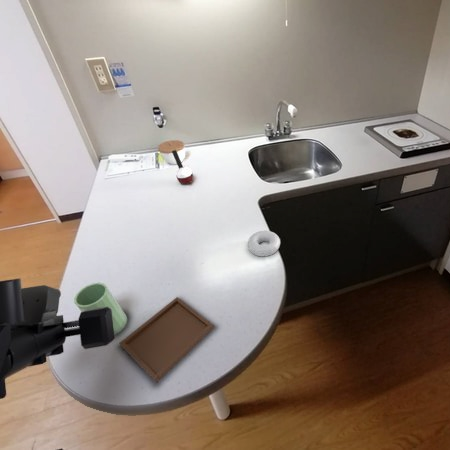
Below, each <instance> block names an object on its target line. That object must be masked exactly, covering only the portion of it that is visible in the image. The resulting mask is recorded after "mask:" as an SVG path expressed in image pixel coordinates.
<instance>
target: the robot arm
mask: <svg viewBox="0 0 450 450" xmlns="http://www.w3.org/2000/svg"><path fill="white" fill-rule="evenodd" d="M61 296H62V292H61V290H60V289H58V288H56V287H52V286H49V285H45V284H43V285H42V284H41V285H36V286H35V285H34V286H29V287H22V279H21V278H20V277H19V278H13V279H7V280H6V279H5V280H0V400H2V399H5V398H6V396H7V386H6V379H8V378H9V377H11V376H13V375H15V374H17V373H19V372H21V371H23V370H25V369H27V368H28V367H36V366H40V365H44V364H46V363H47V357H51V356H58V355H61V354H63V353H64V352H65V350H64V344H65V343H66V339H67V338H68V337H74V336H79V337H80V345H81V347H82V348H83V349H84V350H89V349H94V348H95V349H96V348H99V347H105V346H108V345H109V344H111V343H113V341H114V340H115V335H114V328H113V319H112V311H111V309H110V308H109V307H102V308H96V309H90V310H86V311H83V312H81V311H80V314H79V316H78V319H77V320H72V321H64V315H63V314H60V315H58V313H59V307H60V298H61ZM56 450H64V449H63V448H58V449H56Z"/></svg>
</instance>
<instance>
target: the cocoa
mask: <svg viewBox="0 0 450 450" xmlns="http://www.w3.org/2000/svg"><path fill="white" fill-rule="evenodd" d="M172 153H173V156H174V158H175V160H176V163H177V164H176V165H177V167H178V169H177V171H176V173H175V177H176V179H177V181H178V183H179V184H181V185H184V186H185V185H189V184H191V183H192V182H193V180H194V175H193V171H192V168H190V167H189V166H188V165H184V166H183V164H182V163H183V162H181V161H180V158H179V156H178V154H177V151H176V150H174V151H172Z"/></svg>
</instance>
